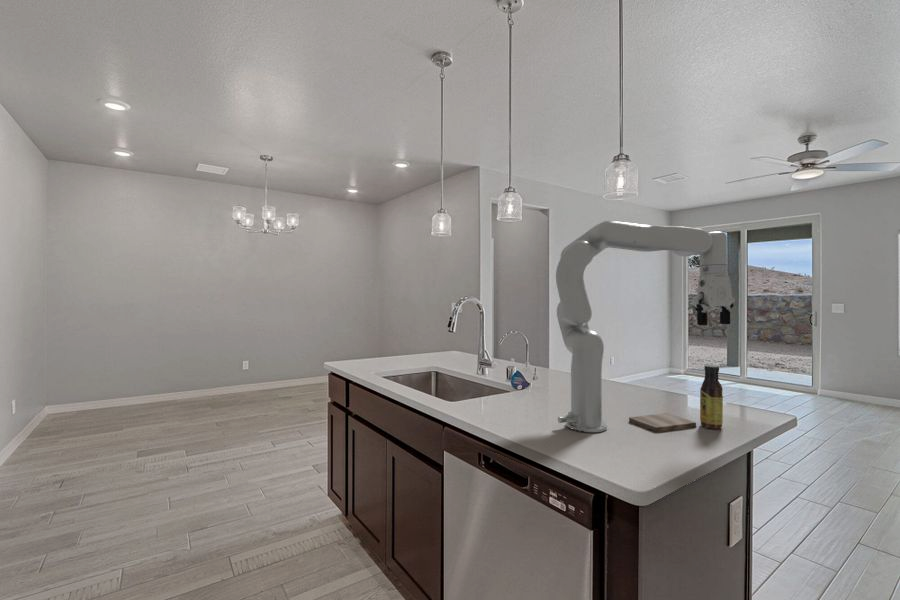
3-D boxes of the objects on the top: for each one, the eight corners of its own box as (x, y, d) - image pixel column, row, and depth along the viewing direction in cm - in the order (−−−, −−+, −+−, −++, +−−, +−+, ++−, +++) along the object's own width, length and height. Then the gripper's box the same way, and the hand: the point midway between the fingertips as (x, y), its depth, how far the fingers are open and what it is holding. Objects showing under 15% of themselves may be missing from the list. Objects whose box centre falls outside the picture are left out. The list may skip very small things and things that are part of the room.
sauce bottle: (699, 423, 145) (699, 363, 145) (721, 425, 142) (721, 364, 142) (700, 428, 139) (700, 366, 139) (723, 431, 137) (723, 367, 136)
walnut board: (656, 432, 136) (656, 427, 136) (629, 421, 147) (629, 417, 147) (696, 427, 141) (696, 422, 141) (666, 417, 152) (666, 413, 152)
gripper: (703, 270, 134) (703, 326, 134) (744, 270, 139) (744, 324, 139) (682, 271, 141) (683, 324, 141) (722, 271, 146) (723, 323, 147)
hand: (713, 324), depth 140 cm, fingers open, 9 cm apart
